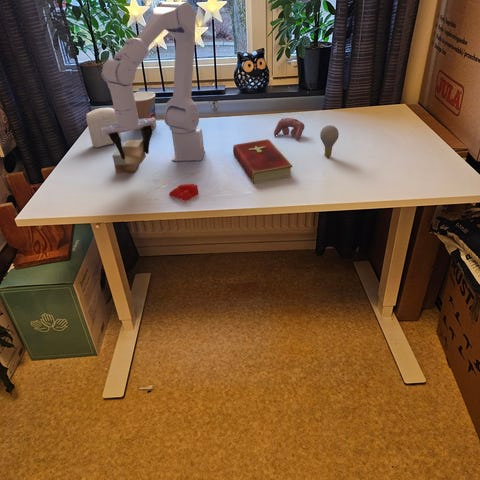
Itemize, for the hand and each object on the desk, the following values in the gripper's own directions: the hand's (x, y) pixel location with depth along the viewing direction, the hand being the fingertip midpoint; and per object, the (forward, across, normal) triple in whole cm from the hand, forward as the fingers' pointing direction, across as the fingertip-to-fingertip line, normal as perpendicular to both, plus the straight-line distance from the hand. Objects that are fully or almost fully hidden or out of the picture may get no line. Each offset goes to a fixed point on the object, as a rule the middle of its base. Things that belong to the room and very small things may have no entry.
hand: (135, 155), depth 125 cm
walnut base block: (+9, +1, -11) cm, 14 cm away
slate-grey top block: (+6, +1, -11) cm, 12 cm away
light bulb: (+9, -56, +14) cm, 58 cm away
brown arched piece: (+9, -54, -8) cm, 56 cm away
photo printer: (+9, +3, -35) cm, 36 cm away
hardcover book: (+9, -36, +8) cm, 38 cm away
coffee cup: (+9, -13, -42) cm, 45 cm away
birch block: (+1, 0, 0) cm, 1 cm away
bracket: (+9, -9, +14) cm, 19 cm away
